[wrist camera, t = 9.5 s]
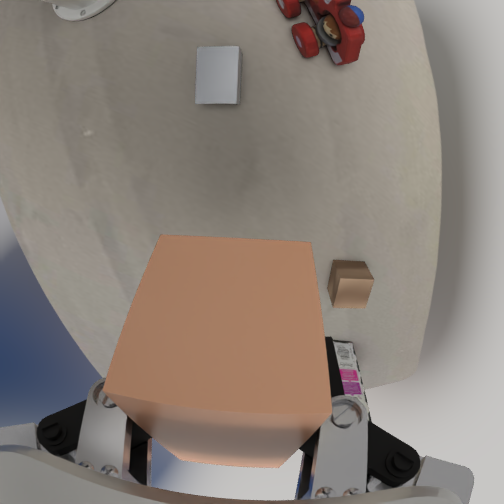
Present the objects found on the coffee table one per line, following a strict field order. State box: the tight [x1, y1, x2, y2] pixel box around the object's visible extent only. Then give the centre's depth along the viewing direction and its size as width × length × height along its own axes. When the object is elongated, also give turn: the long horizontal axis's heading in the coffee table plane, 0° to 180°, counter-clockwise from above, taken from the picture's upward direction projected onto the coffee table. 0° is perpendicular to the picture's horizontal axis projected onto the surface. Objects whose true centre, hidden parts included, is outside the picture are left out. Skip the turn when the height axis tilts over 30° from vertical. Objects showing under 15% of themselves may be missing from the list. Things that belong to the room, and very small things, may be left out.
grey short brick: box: [195, 46, 242, 104], centre depth 26 cm, size 6×4×4 cm, turn 178°
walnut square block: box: [327, 260, 374, 308], centre depth 37 cm, size 4×4×4 cm
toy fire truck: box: [276, 0, 365, 65], centre depth 19 cm, size 7×12×10 cm, turn 22°
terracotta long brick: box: [102, 235, 332, 468], centre depth 9 cm, size 8×4×4 cm, turn 177°
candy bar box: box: [333, 340, 371, 422], centre depth 40 cm, size 11×5×16 cm, turn 170°
